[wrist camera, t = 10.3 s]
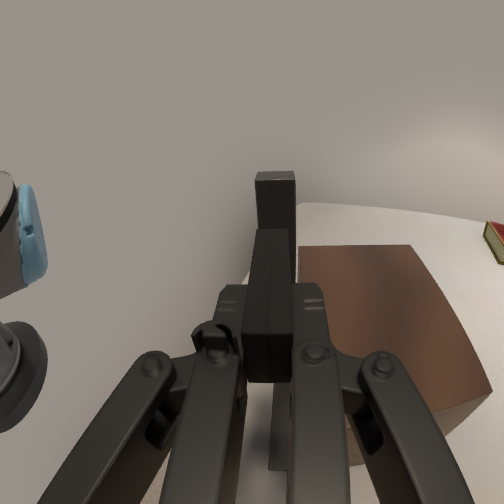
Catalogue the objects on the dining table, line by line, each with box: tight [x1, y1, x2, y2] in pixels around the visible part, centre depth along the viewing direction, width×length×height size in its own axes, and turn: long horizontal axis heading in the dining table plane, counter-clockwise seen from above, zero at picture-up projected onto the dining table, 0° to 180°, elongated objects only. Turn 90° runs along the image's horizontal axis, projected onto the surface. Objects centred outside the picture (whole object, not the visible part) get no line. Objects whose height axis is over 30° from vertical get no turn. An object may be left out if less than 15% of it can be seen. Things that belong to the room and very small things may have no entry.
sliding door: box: [255, 171, 296, 283], centre depth 24 cm, size 2×9×18 cm, turn 175°
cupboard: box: [268, 245, 493, 470], centre depth 20 cm, size 14×18×10 cm
